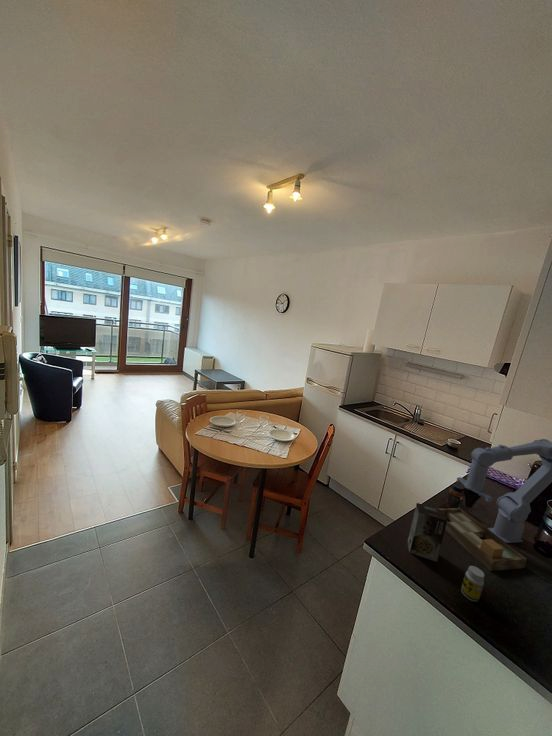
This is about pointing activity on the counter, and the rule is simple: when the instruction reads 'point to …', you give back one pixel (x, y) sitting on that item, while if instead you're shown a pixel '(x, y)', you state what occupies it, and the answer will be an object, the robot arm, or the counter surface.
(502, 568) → the trap box
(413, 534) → the coffee box
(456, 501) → the supplement bottle
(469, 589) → the supplement bottle
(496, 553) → the block
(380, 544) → the counter surface
